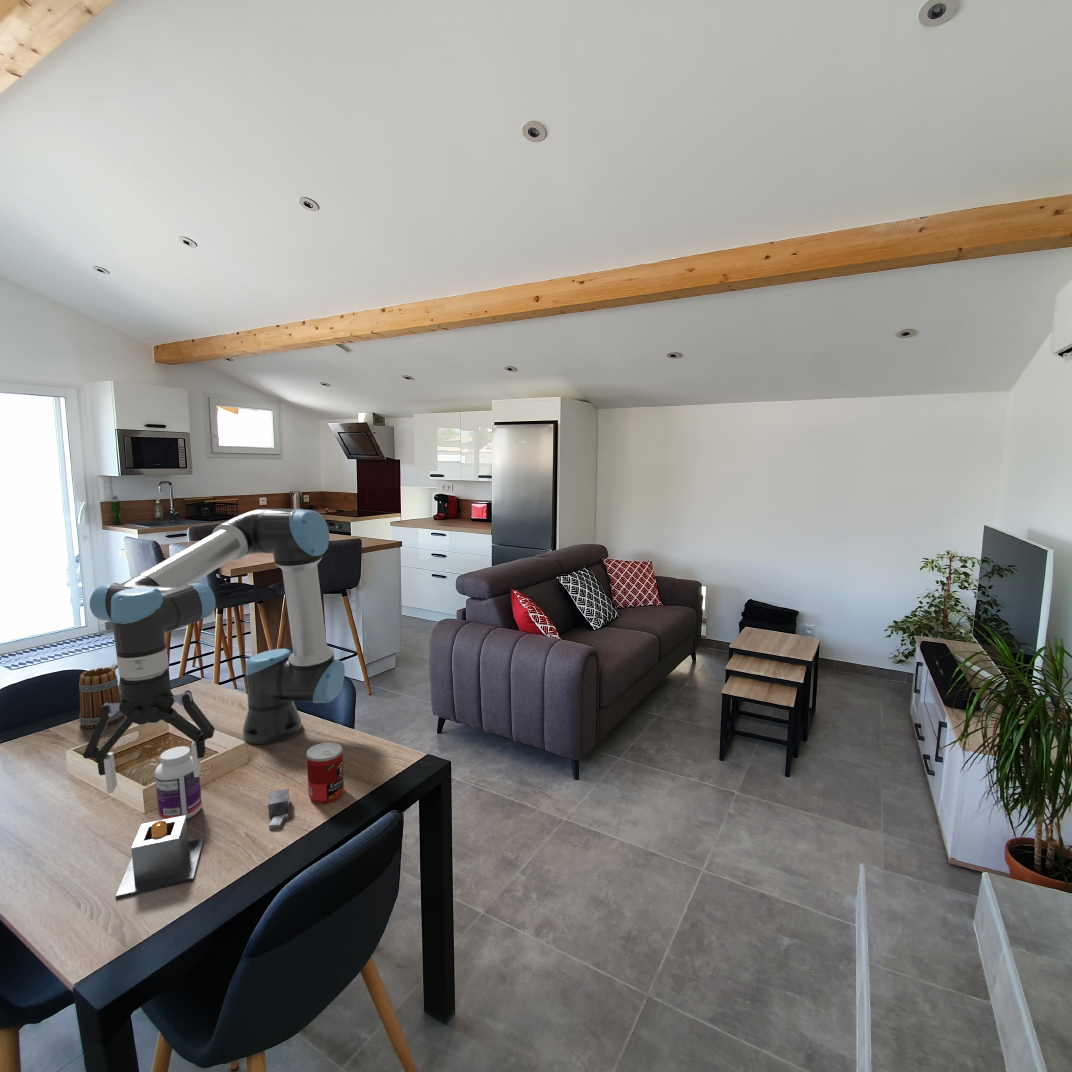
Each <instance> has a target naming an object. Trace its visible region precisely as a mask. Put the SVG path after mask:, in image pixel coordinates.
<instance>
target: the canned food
mask: <svg viewBox="0 0 1072 1072" xmlns="http://www.w3.org/2000/svg"><path fill="white" fill-rule="evenodd" d="M343 752H344V751H343V747H342V745H341V744H339V743H336V742H328V741H327V742H322V743H318V744H317V743H316V745H315V744H314V745H313V746H310V748H308V749H307V751H306V755H305V756H306V771H307V787H308V790H307V791H308V797H309V799H310V800H311V802H314V803H316V804H329V803H332V802H334V801H337V800H338V799H340V798H342V796H343V794H344V791H345V779H344V778H345V777H344V754H343Z"/></svg>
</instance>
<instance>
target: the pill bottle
mask: <svg viewBox="0 0 1072 1072" xmlns="http://www.w3.org/2000/svg"><path fill="white" fill-rule="evenodd" d="M159 757H160V758H159V759H160V763H159V764H158V765H157V767H156V768H155V771H154V779H155V789H156V799H157V808H158V809H157V810H158V817H159V819H160V820H164V819H169V818H174V817H179V816H184V815H186V820H188V819H191V818H192V817H194V816H195V815H196V814H197V813H199V812H200V811H201V808H202V804H203V802H202V801H203V800H202V791H201V781H200V779H201V778H200V776H199V777H195V778H194V770H193V760H192V752H191V747H189V746H175V747H172V748H169V749H166V750H165V751H162V753H161V754H160V756H159Z"/></svg>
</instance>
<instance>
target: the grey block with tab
mask: <svg viewBox="0 0 1072 1072" xmlns="http://www.w3.org/2000/svg"><path fill="white" fill-rule="evenodd" d="M267 807H268V818H272V819H271V820H270V823H269V825H268V828H269V829H268V830H281V828H282V826H283V825H284V822H285V821H287V820H289V814H290V789H289V788H283V789H279V790H274V791H269V793H268V803H267Z"/></svg>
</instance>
